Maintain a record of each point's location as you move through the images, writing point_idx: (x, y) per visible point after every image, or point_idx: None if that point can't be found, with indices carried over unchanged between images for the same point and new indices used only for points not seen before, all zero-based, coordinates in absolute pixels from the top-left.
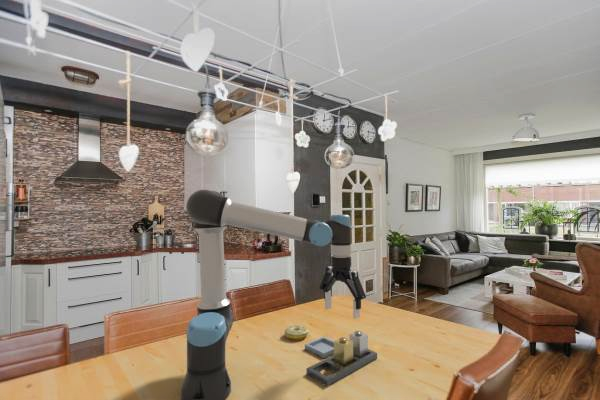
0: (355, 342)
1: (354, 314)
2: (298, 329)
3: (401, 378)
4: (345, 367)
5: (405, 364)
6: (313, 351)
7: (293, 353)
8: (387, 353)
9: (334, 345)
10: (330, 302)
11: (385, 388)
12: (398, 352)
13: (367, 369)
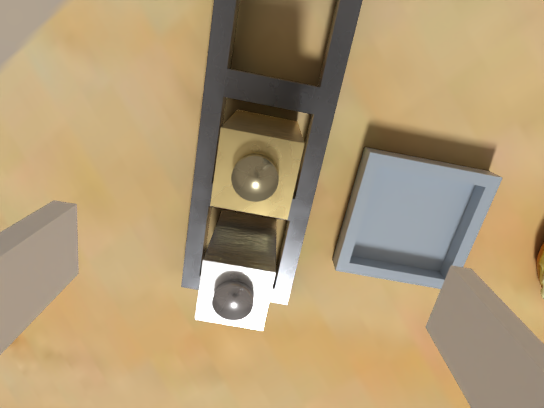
0: (236, 249)
1: (29, 219)
2: None
3: (42, 195)
4: (219, 97)
5: (86, 290)
6: (435, 162)
7: (521, 100)
8: (175, 325)
9: (297, 137)
10: (458, 366)
11: (42, 92)
12: (149, 351)
13: (170, 178)
